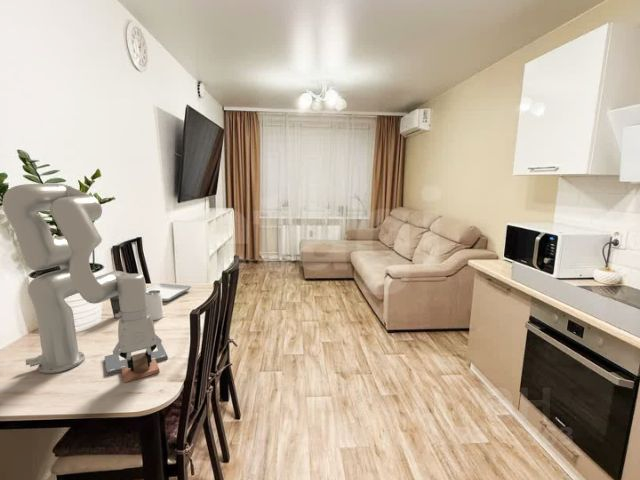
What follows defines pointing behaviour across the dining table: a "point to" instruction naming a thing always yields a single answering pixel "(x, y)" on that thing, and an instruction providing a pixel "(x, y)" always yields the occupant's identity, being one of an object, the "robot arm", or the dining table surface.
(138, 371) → the wooden t-shaped block
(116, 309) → the beverage cup
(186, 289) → the salad plate
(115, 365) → the board
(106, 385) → the dining table surface
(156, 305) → the can
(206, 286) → the dining table surface
